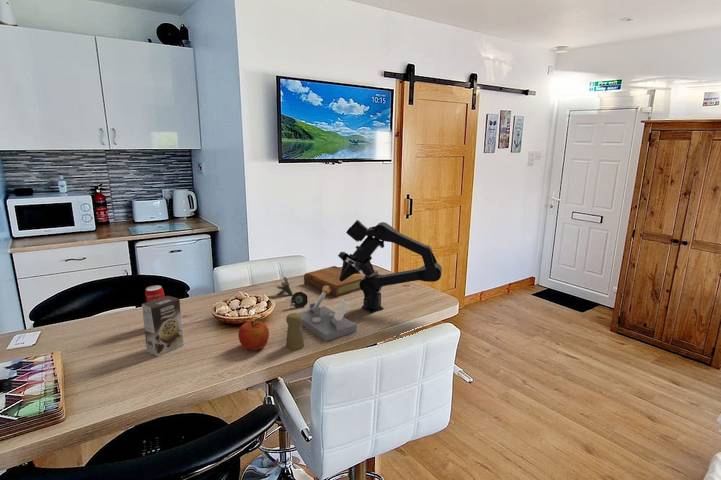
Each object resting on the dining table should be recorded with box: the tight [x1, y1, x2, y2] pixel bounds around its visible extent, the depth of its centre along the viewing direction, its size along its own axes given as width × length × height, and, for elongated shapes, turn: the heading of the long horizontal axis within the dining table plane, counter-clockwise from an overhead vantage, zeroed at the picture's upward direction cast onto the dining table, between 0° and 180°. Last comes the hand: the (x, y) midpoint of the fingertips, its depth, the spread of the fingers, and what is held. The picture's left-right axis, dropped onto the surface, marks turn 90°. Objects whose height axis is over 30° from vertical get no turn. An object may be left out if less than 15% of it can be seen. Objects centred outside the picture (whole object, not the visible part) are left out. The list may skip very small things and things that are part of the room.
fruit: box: [237, 317, 270, 351], centre depth 131 cm, size 10×10×10 cm
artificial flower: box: [273, 276, 308, 309], centre depth 173 cm, size 9×22×10 cm, turn 24°
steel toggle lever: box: [310, 285, 330, 312], centre depth 153 cm, size 3×3×11 cm
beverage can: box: [144, 284, 166, 302], centre depth 144 cm, size 6×6×15 cm
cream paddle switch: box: [330, 298, 351, 326], centre depth 142 cm, size 2×4×9 cm, turn 28°
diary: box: [303, 265, 365, 298], centre depth 189 cm, size 23×19×6 cm
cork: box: [285, 312, 305, 351], centre depth 132 cm, size 6×6×11 cm
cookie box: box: [141, 295, 184, 357], centre depth 128 cm, size 9×6×16 cm
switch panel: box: [298, 302, 358, 343], centre depth 147 cm, size 13×21×6 cm, turn 38°
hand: (340, 280), depth 155 cm, fingers closed
